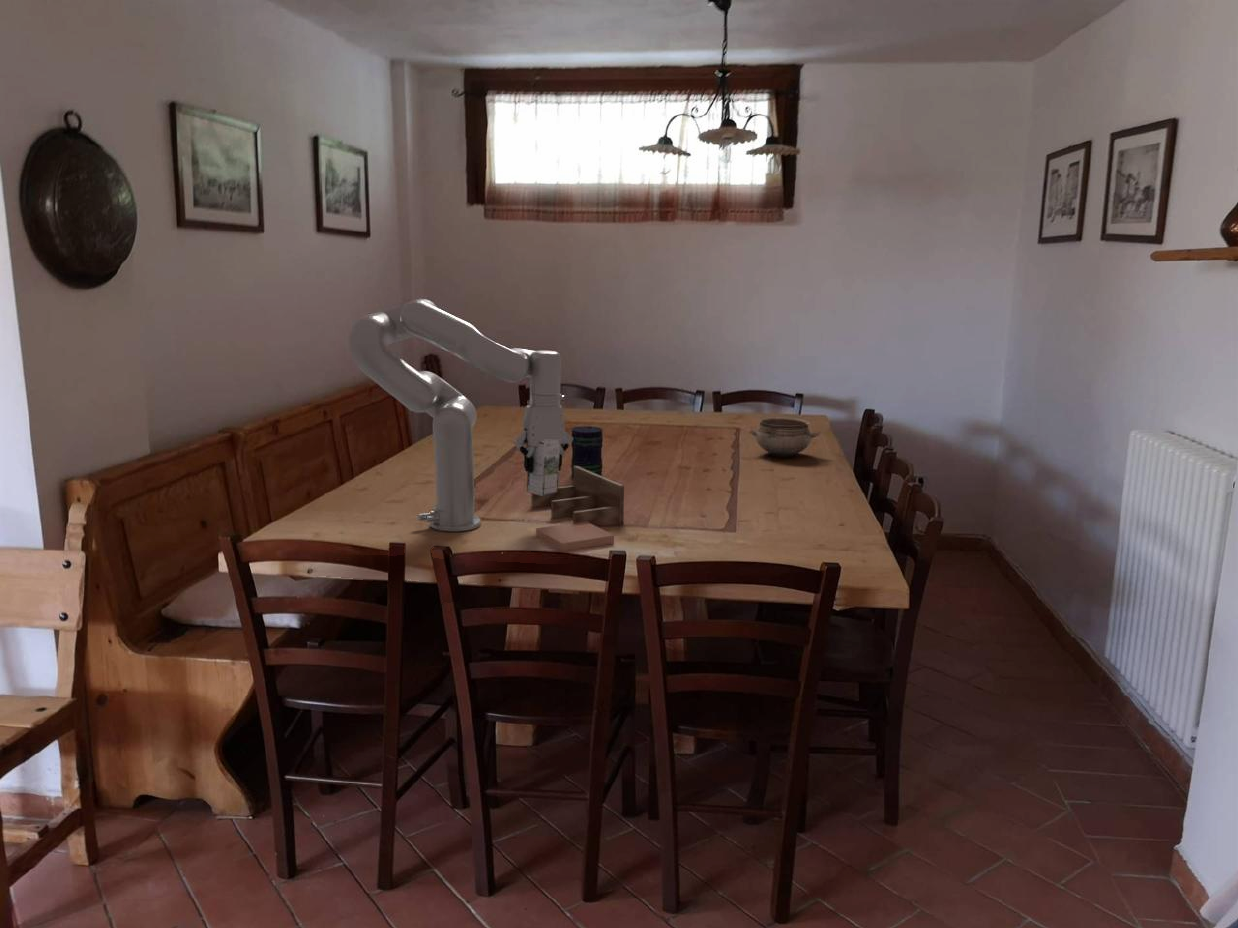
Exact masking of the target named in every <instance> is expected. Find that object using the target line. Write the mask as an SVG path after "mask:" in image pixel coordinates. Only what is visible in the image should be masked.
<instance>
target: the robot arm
mask: <svg viewBox="0 0 1238 928" xmlns="http://www.w3.org/2000/svg"><path fill="white" fill-rule="evenodd" d="M414 337H416V338H419V339H421V340H423V341H425V342H427V343H429V344H431V345H433V346H436V347H437V348H439V349H441V350H444V351H446V352H448V353H449V354H452V355H454V356H455V357H457V358H459V359H461V360H463V361H464V362H466V363H468V364H469V365H472V366H474V367H475V368H477V369H479V370H481V371H483V372H485V373H487V374H489V375H491V376H493V377H495V378H497V379H500V380H502V381H503V382H507V383H518V382H520V381H522V380H523V379H524V378H529V405H525V411H524V415H523V421H522V430H521V433H520V434H519V435H518V436H517V437H516V438H515V439H514V440H513V444H514V446H515V447H516V448H517V450H518V451H519V452H520V453H521V454H522V455H523V456H524V457H523V458H524V463H523V467H524V470H525V471H526V472H529V473H532V472H533V457H532V453H533V451H534V449H535V447H538V446H539V443H540V439H558V441H559V444H560V453H559V471H561V469H562V466H563V455H564V454H565V452H566V451H567V450H568V448H569V447H570V445H571V444H572V441H573V437H572V435H570V434H569V433H568V432H567V431H566V430H565V428H566V427H565V418H564V410H563V407H562V405H561V402H562V401H563V402H564V401H565V395H562V394H561V381H562V380H561V379H562V377H561V376H562V356H561V354H560V353H559V352H558V351H555V350H530V349H524V348H518V347H513V348H508V347H506V346H504V345H501V344H499V343H497V342H495V341H493V340H492V339H490V338H488V337H486V336H485V335H484V334H483V333H481V332H480V331H479V330H478V329H477V328H476V327H475V326H474V325H472V324H471V323H470V322H468V321H466V320H464V319H461V318H459V317H456V316H455V315H452V314H451V313H448V312H447V311H444V310H442V309H441V308H438V307H437V305H436V304H435V303H434V302H433V301H431V300H428V299H426V298H417V299H412V300H411V301H409V302H406V303H404V304H400V305H398V306H394V307H391V308H387V309H384V310H380V311H376V312H373V313H369V314H366V315H363V316H360V318H358V319H357V320H356V321H355V322H354V323H353V325H352V327H351V329H350V333H349V339H348V345H349V352H350V355H351V357H352V360H353V361H354V364H355V365H356V366H357V367H358V369H359V370H361V372H363V374H365V375H366V376H367V377H368V378H369V379H371V380H373V382H375V384H377V385H378V386H380V387H381V388H382V389H383V390H384V391H385V392H387V393H388V394H389V395H391V397H393V398H395V400H397V401H398V402H399V403H401V404H402V405H403V406H404V407H406V408H407V409H408V410H409V411H411V412H414V413H426V414H428V415H429V416H430V417H431V418H432V435H433V436H432V437H433V445H434V446H433V448H434V467H435V469H434V470H435V499H436V500H435V502H436V507H435V506H434V507H432V510H430V511H429V512H422V513H418V514H417V520H418V522H424V521H426V523H430V527H431V528H432V529H434V530H437V531H441V532H465V531H471V530H474V529H476V528H478V527H480V526H481V524H482V521H481V518H480V517H478V516H476V515H475V476H474V475H475V470H474V469H475V467H474V465H475V464H474V444H473V443H474V440H473V428H474V426H475V425H476V422H477V419H478V416H477V415H478V414H477V409H476V407H475V406H474V404H473V403H472V401H470V400H469V399H468V397H466V396H465V395H464V394H462V393H461V392H460V391H458V390H457V389H456V388H454V387H453V386H452V385H451V384H450V383H448V382H446V381H445V380H444V379H443V378H442V377H440V376H439V375H437V374H436V373H433V372H431V371H427V370H416V369H415V368H414V367H412V366H411V365H410V364H408V363H407V362H406V361H405V360H404V359H402V358H401V357H399V356H398V355H397V354H395V353H393V352H392V351H391V350H390V349H389V348H388V346H389V345H391V344H393V343H398V342H400V341H403V340H404V341H405V340H407V339H410V338H414ZM522 443H523V444H524V445H525V446H523V444H522Z"/></svg>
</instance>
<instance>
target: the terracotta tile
mask: <svg viewBox="0 0 1238 928" xmlns="http://www.w3.org/2000/svg"><path fill="white" fill-rule="evenodd" d="M535 536H536V537H537V538H538V539H541V540H542V541H544V543H547V544H548V545H550V546H552V547H554V548H555V549H557V550H559V551H560V552H568V551H569V552H570V551H575V550H582V549H586V548H587V549H588V548H592V547H600V546H607V545H613V544H615V535H614V534H612V533H610V532H608V531H607V530H604V529H602V528H600V526H599V527H597V526H595V525H593V524H591V523H589V522H587V521H584V522H577V523H573V522H572V523H567V524H566V523H565V524H564V523H563V524H558V525H557V524H556V525H550V526H544V527H537V528H536V529H535Z"/></svg>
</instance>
